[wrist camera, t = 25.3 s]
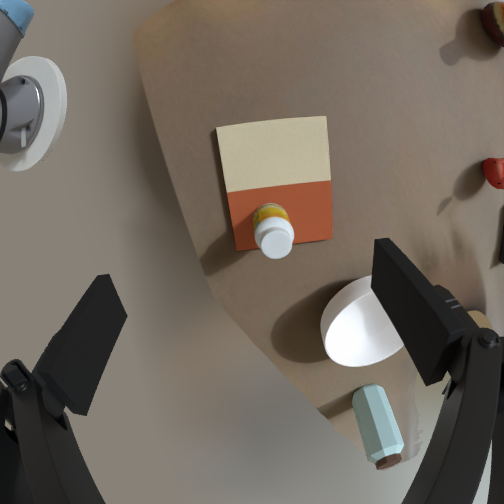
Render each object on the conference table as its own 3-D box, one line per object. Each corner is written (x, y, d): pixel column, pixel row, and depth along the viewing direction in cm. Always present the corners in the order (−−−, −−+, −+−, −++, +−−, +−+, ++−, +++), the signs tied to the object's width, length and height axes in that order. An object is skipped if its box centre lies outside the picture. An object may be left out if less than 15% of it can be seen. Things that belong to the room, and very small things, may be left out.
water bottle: (371, 400, 73) (392, 468, 51) (344, 401, 72) (363, 474, 50) (388, 381, 69) (415, 452, 47) (360, 381, 68) (385, 459, 45)
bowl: (322, 349, 60) (331, 377, 53) (306, 280, 51) (315, 309, 44) (402, 321, 58) (417, 346, 50) (402, 249, 49) (423, 272, 42)
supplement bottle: (287, 232, 46) (298, 262, 37) (254, 235, 46) (257, 266, 37) (286, 200, 43) (297, 224, 35) (251, 203, 43) (253, 227, 35)
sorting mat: (236, 248, 48) (236, 251, 47) (216, 127, 39) (215, 127, 38) (330, 236, 47) (332, 238, 47) (324, 116, 38) (325, 116, 37)
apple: (483, 144, 39) (518, 156, 30) (499, 161, 40) (531, 175, 31) (470, 176, 42) (504, 191, 33) (486, 191, 43) (517, 208, 34)
